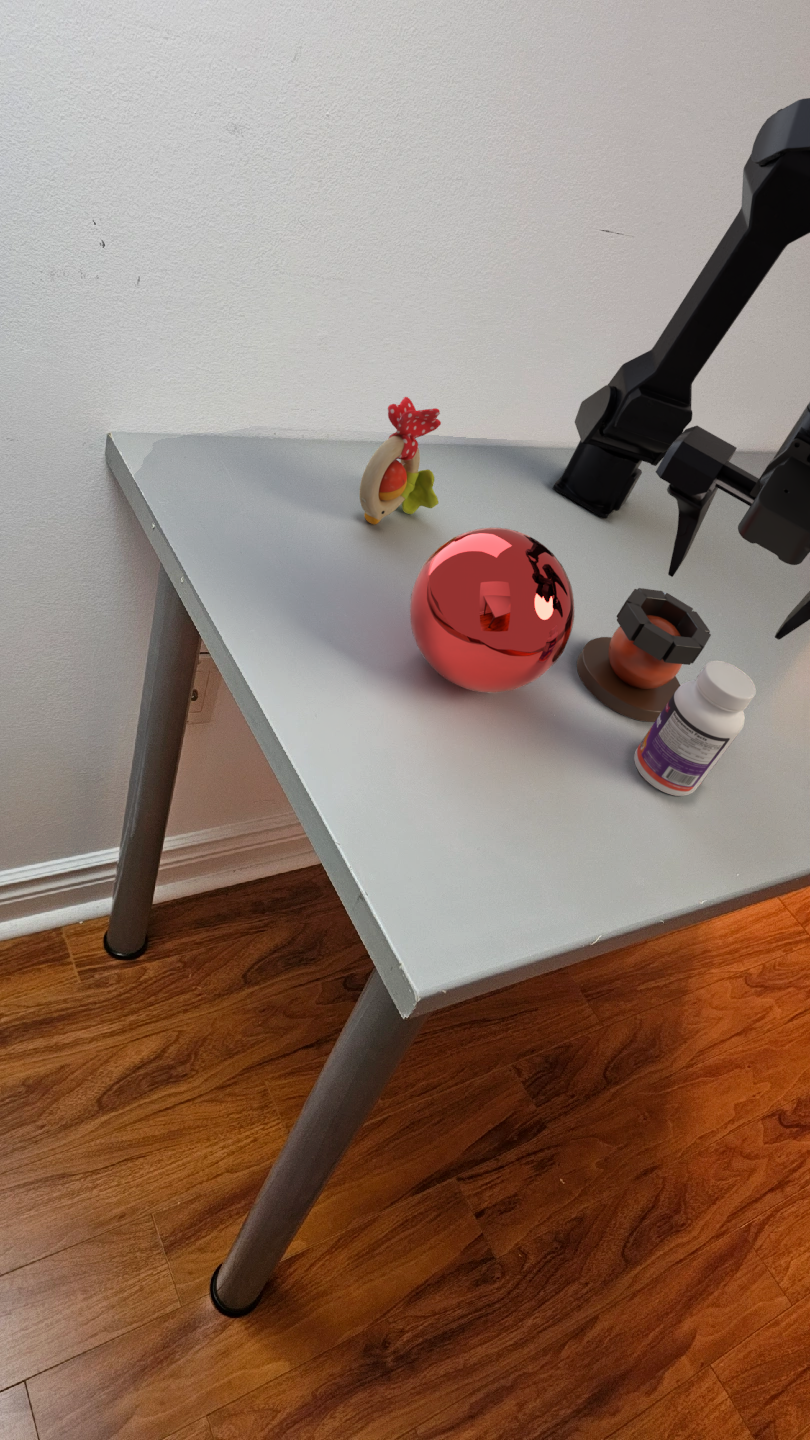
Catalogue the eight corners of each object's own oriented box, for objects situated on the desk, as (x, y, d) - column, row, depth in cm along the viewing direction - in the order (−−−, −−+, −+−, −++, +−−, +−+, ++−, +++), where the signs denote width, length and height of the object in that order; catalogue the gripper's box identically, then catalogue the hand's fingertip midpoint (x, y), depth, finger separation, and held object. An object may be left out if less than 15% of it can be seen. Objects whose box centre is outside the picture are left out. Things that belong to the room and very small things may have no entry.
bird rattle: (392, 559, 93) (449, 497, 97) (406, 474, 83) (468, 410, 87) (335, 523, 94) (394, 463, 98) (342, 435, 84) (407, 373, 88)
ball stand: (561, 678, 85) (598, 616, 81) (596, 633, 92) (631, 574, 88) (658, 738, 84) (700, 679, 79) (686, 688, 90) (726, 630, 86)
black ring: (607, 628, 82) (618, 610, 81) (632, 594, 87) (643, 577, 86) (685, 676, 81) (697, 659, 80) (706, 639, 86) (717, 622, 85)
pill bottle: (656, 738, 84) (721, 646, 77) (708, 784, 81) (778, 694, 75) (618, 758, 80) (683, 663, 74) (671, 807, 78) (742, 713, 72)
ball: (364, 618, 82) (418, 487, 74) (492, 620, 88) (553, 500, 80) (424, 729, 74) (490, 597, 67) (558, 723, 80) (633, 602, 73)
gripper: (695, 384, 66) (585, 581, 76) (968, 535, 63) (817, 719, 73) (732, 349, 75) (629, 530, 84) (974, 481, 72) (838, 652, 81)
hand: (723, 605), depth 81 cm, fingers open, 9 cm apart
